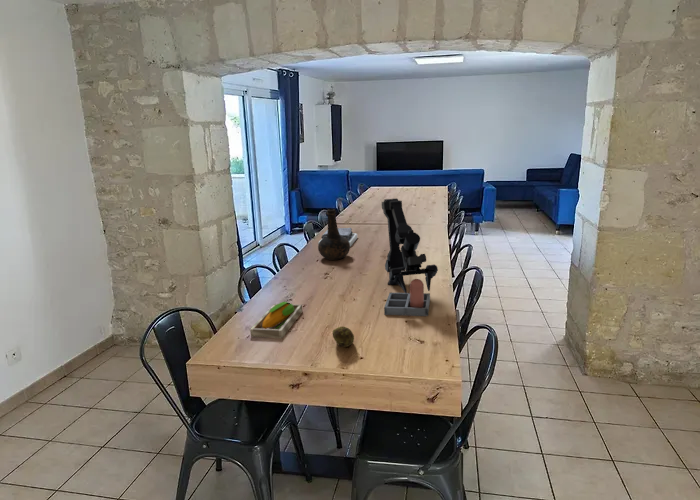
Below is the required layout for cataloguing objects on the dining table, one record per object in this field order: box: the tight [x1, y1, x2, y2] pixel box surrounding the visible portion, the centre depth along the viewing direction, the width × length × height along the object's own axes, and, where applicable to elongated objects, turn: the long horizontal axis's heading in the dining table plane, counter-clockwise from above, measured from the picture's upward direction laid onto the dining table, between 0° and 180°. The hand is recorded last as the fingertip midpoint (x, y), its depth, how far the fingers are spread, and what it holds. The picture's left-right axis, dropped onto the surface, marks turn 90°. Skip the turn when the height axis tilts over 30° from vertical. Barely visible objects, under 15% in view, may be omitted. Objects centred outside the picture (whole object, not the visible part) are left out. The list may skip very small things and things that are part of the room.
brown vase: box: [317, 208, 351, 261], centre depth 269 cm, size 18×18×28 cm
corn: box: [262, 301, 294, 329], centre depth 186 cm, size 7×8×20 cm
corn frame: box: [249, 303, 303, 339], centre depth 187 cm, size 25×12×3 cm, turn 168°
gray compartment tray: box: [383, 292, 431, 317], centre depth 197 cm, size 17×17×3 cm
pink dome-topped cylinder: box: [409, 278, 425, 308], centre depth 190 cm, size 5×5×13 cm
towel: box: [321, 227, 353, 241], centre depth 305 cm, size 15×18×8 cm
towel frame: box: [317, 232, 358, 248], centre depth 306 cm, size 23×20×3 cm
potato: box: [332, 326, 355, 348], centre depth 165 cm, size 8×13×8 cm, turn 168°
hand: (417, 291), depth 189 cm, fingers open, 9 cm apart
